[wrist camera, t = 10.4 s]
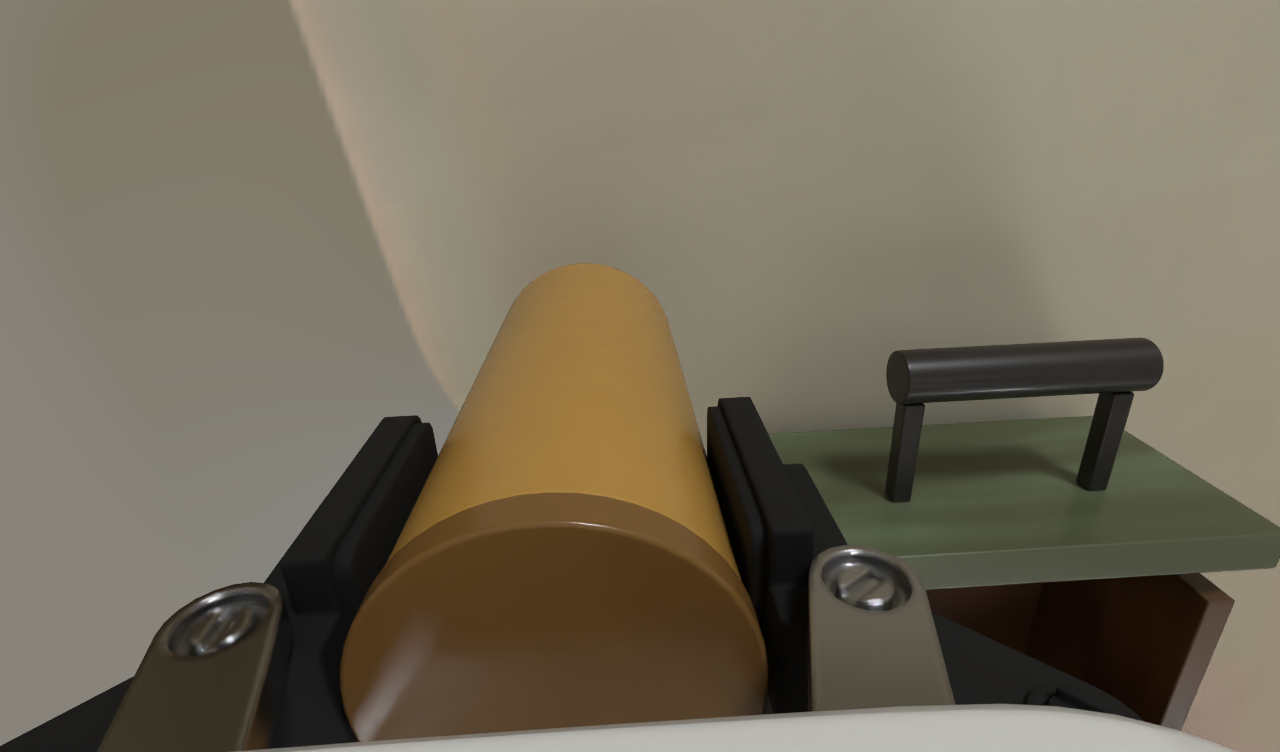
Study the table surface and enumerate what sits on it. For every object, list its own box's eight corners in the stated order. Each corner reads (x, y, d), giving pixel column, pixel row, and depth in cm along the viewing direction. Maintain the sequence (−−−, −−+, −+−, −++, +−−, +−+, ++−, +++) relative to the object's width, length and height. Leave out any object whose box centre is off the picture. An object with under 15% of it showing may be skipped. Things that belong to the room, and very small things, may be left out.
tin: (532, 234, 17) (394, 462, 6) (699, 297, 18) (846, 597, 7) (480, 391, 19) (300, 792, 8) (635, 442, 19) (671, 865, 9)
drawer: (753, 310, 21) (818, 400, 15) (1134, 290, 22) (1365, 370, 15) (741, 696, 29) (781, 875, 22) (1029, 677, 29) (1154, 847, 22)
